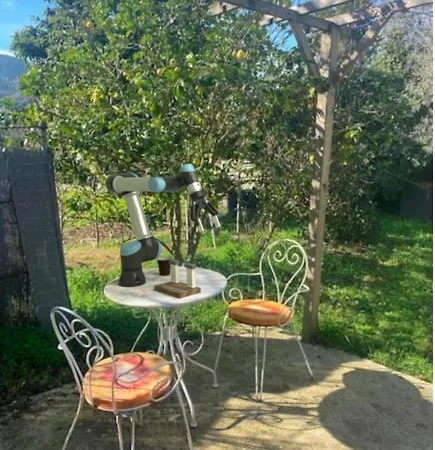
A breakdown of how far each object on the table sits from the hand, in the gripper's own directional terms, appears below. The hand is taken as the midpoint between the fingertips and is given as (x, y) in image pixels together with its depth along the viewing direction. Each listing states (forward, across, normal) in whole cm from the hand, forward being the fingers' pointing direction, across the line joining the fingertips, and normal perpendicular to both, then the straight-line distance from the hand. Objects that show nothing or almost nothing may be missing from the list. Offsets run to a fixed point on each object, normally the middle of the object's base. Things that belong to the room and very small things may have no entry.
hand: (210, 229), depth 231 cm
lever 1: (+18, -9, +30) cm, 36 cm away
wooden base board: (+24, -14, +25) cm, 37 cm away
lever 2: (+24, -11, +17) cm, 32 cm away
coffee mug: (+11, +9, +55) cm, 57 cm away
